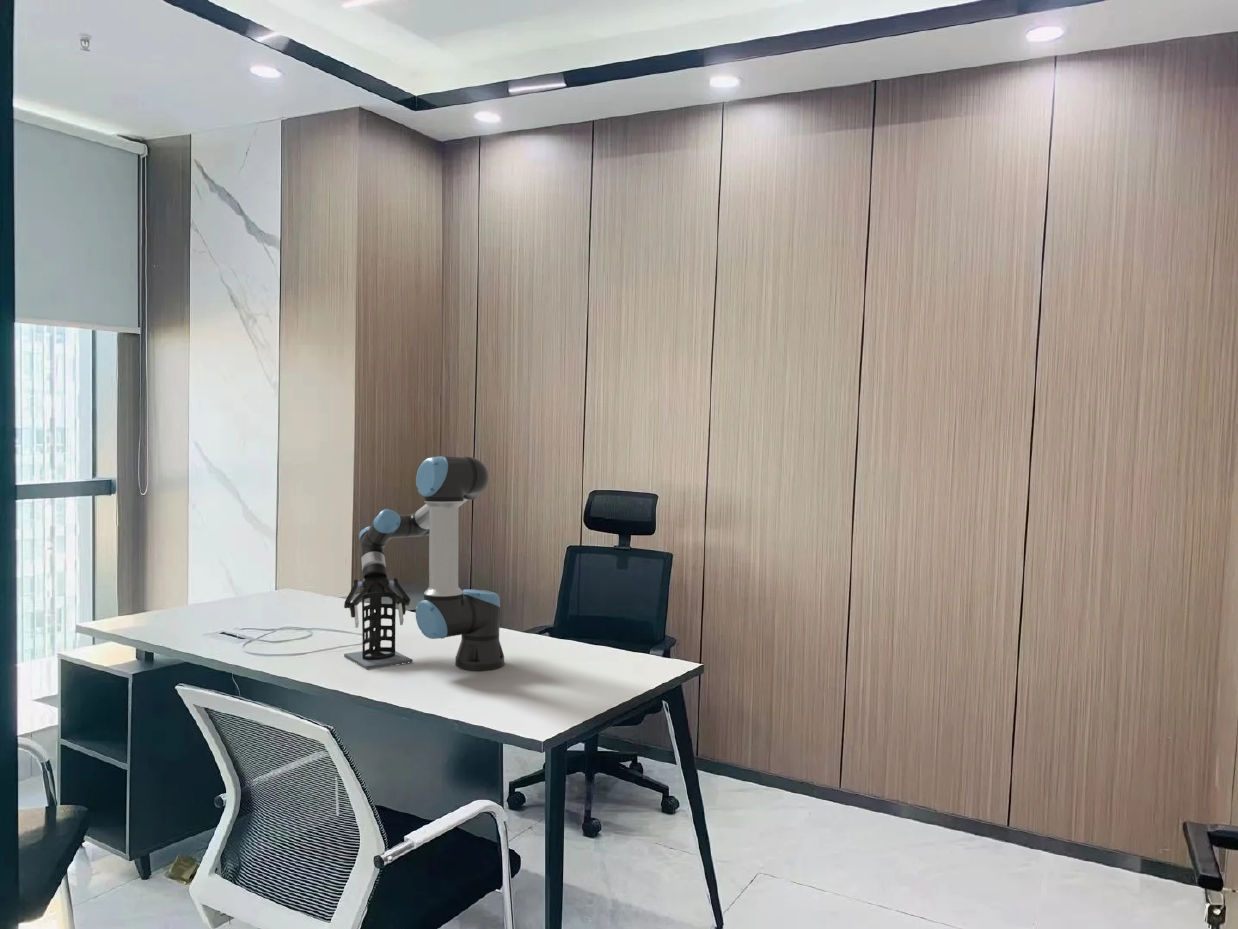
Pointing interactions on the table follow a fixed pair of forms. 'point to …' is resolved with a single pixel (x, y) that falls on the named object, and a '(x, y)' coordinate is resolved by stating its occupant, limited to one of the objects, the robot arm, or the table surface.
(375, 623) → the holder
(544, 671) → the table surface
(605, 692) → the table surface
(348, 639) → the table surface
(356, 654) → the mat
